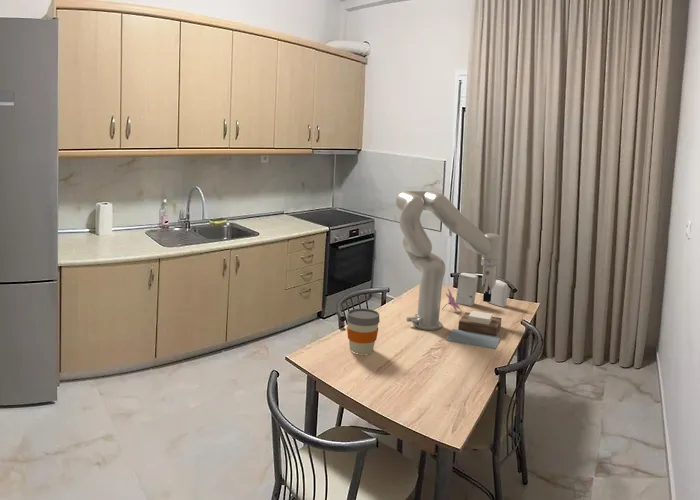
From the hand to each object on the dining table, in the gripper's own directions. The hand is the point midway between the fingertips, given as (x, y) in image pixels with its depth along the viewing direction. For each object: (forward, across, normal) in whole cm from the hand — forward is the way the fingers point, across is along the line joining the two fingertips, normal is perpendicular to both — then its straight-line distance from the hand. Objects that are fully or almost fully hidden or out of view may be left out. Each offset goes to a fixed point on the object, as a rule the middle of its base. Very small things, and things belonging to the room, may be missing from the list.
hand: (486, 301), depth 270 cm
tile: (+6, -11, +1) cm, 12 cm away
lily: (+10, +8, +18) cm, 22 cm away
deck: (+10, -10, +1) cm, 14 cm away
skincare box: (+10, +24, +14) cm, 29 cm away
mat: (+9, -24, +1) cm, 26 cm away
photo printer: (+11, +30, 0) cm, 32 cm away
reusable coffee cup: (+8, -58, +38) cm, 70 cm away
